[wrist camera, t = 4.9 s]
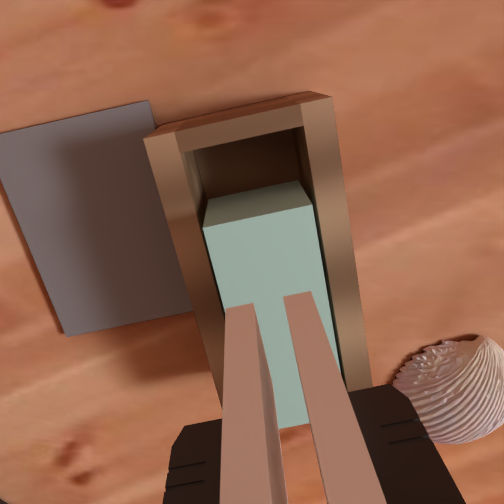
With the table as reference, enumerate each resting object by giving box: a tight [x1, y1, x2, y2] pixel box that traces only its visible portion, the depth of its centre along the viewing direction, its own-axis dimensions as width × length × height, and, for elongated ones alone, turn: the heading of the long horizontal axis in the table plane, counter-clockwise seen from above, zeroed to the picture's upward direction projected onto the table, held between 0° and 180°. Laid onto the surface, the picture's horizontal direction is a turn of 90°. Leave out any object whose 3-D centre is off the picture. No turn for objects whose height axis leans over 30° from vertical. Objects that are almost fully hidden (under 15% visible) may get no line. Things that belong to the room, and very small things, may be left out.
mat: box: [0, 100, 193, 337], centre depth 30 cm, size 10×14×1 cm
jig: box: [143, 91, 373, 410], centre depth 28 cm, size 18×9×7 cm, turn 12°
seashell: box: [392, 336, 504, 444], centre depth 35 cm, size 10×6×10 cm
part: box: [203, 180, 341, 429], centre depth 25 cm, size 12×5×5 cm, turn 12°
